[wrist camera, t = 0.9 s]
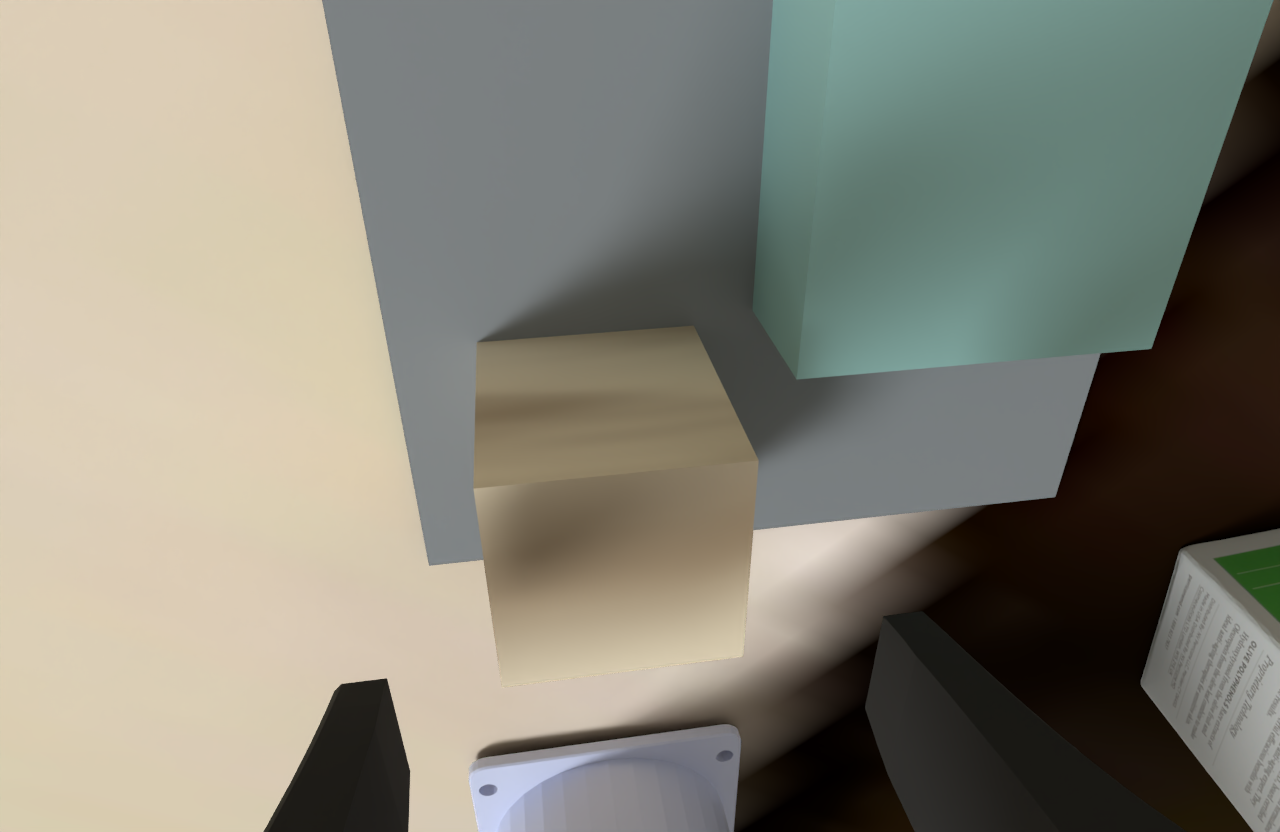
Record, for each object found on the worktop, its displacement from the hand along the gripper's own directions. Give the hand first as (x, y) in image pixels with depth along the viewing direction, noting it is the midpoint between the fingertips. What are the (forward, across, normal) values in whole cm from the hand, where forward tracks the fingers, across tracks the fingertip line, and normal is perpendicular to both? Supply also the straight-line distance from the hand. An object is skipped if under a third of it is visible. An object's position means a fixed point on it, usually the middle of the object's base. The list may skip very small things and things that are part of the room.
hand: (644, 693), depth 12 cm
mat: (+8, -4, -3) cm, 9 cm away
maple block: (+7, 0, 0) cm, 7 cm away
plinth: (+8, -7, -6) cm, 12 cm away
